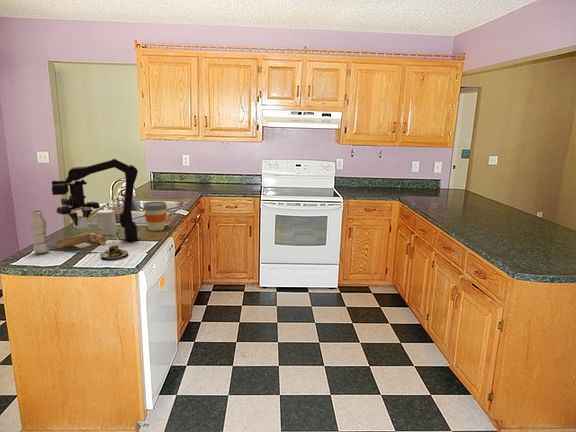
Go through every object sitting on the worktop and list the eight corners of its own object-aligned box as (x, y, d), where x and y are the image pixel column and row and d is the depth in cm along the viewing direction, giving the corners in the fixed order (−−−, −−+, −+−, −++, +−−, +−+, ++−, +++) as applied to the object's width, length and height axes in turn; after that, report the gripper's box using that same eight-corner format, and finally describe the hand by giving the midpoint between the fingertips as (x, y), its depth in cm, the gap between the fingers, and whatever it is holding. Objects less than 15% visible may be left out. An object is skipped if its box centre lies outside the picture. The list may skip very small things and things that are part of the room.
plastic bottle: (32, 255, 183) (26, 213, 179) (36, 251, 190) (31, 210, 185) (47, 254, 185) (42, 213, 180) (51, 250, 191) (46, 209, 187)
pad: (91, 245, 200) (91, 244, 200) (80, 248, 196) (80, 247, 195) (85, 242, 204) (85, 242, 204) (73, 245, 199) (73, 245, 199)
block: (81, 225, 200) (80, 215, 199) (88, 227, 197) (87, 217, 196) (73, 227, 197) (72, 217, 196) (80, 229, 194) (79, 219, 193)
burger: (98, 262, 178) (96, 246, 176) (103, 253, 189) (102, 238, 187) (126, 260, 181) (125, 245, 179) (130, 252, 192) (129, 237, 190)
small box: (116, 232, 224) (115, 209, 221) (113, 235, 218) (111, 212, 215) (102, 232, 223) (99, 209, 220) (97, 235, 217) (95, 212, 214)
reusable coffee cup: (169, 230, 230) (168, 205, 226) (146, 232, 225) (144, 206, 221) (165, 225, 241) (164, 201, 237) (144, 227, 236) (142, 202, 232)
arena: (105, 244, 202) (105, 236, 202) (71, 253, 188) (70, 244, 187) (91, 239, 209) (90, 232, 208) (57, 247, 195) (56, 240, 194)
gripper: (86, 189, 205) (89, 218, 209) (48, 194, 190) (52, 226, 193) (98, 191, 199) (101, 221, 203) (61, 197, 184) (65, 229, 187)
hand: (80, 224), depth 197 cm, fingers closed on block, 4 cm apart
